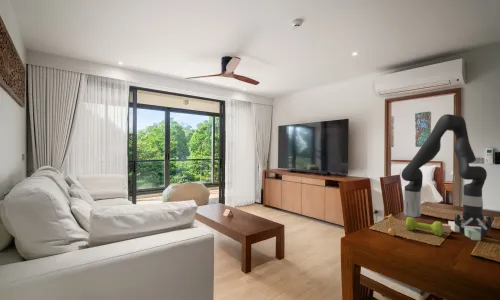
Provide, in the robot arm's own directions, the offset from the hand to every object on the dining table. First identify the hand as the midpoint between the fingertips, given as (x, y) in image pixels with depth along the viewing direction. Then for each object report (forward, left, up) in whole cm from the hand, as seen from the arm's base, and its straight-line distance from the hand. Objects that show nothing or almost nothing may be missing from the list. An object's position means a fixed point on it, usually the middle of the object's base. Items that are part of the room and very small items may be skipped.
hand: (472, 235), depth 120 cm
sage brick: (0, 0, -2) cm, 2 cm away
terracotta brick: (-11, +6, -2) cm, 13 cm away
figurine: (-39, -11, -2) cm, 41 cm away
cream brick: (-3, +11, -2) cm, 12 cm away
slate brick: (+3, +6, -2) cm, 7 cm away
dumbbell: (-21, +1, -2) cm, 21 cm away
